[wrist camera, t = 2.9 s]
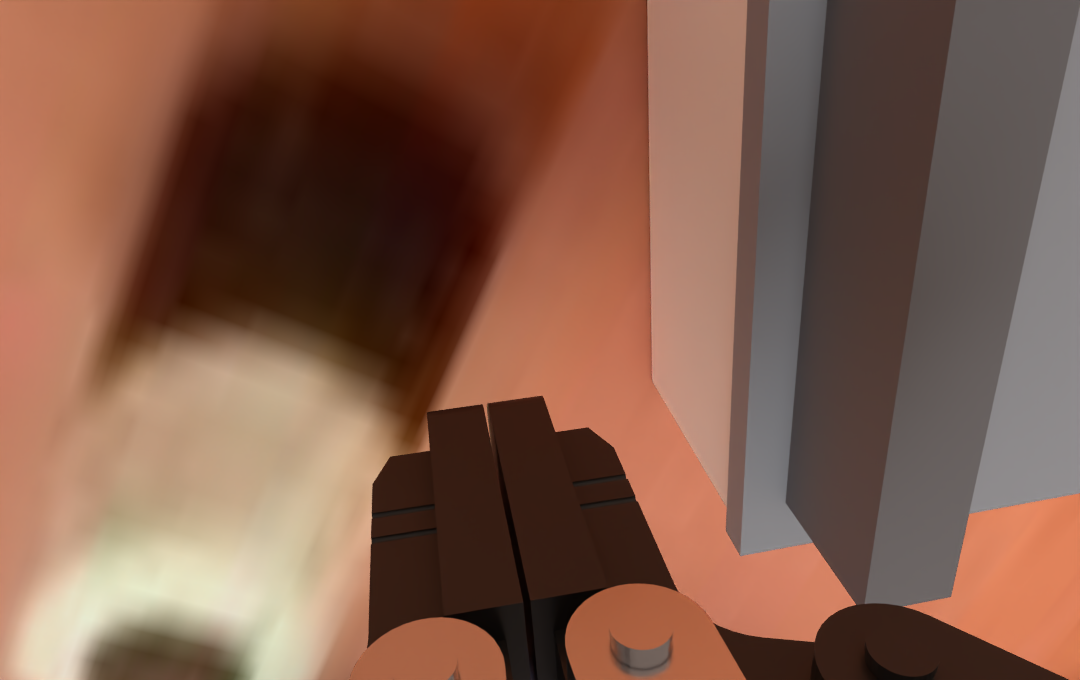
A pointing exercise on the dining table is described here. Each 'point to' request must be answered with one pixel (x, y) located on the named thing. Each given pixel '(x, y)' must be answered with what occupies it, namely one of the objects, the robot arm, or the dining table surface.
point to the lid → (904, 280)
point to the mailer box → (695, 214)
